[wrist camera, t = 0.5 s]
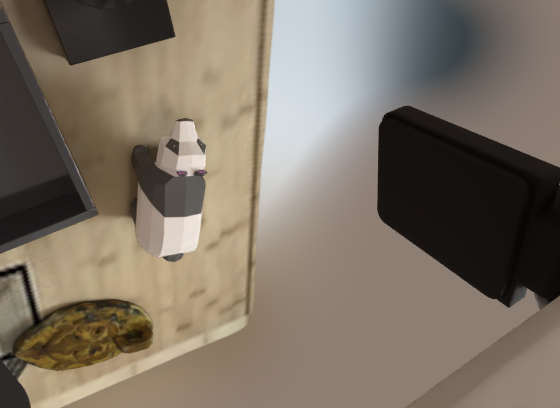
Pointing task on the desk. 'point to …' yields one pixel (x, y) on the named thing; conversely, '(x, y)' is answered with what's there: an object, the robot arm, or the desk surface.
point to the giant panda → (170, 193)
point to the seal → (86, 335)
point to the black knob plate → (107, 26)
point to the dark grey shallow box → (32, 155)
